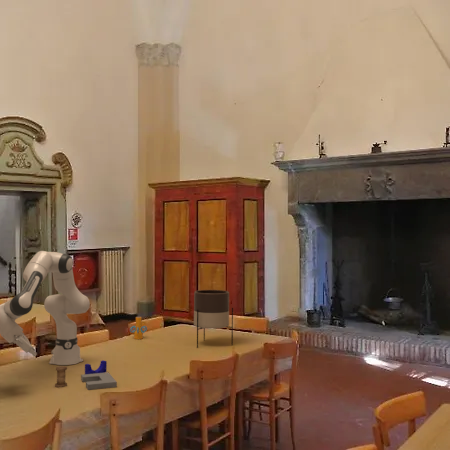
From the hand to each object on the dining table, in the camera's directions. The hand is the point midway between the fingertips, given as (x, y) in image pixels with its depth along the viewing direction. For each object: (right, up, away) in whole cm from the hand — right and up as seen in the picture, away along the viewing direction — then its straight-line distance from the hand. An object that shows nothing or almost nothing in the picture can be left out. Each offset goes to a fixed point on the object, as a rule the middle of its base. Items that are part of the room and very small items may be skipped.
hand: (35, 353), depth 287 cm
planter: (+83, -18, +106) cm, 136 cm away
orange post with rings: (+32, -17, +125) cm, 130 cm away
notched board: (+29, -17, +10) cm, 35 cm away
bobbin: (+11, -17, +5) cm, 21 cm away
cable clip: (+24, -18, +28) cm, 41 cm away
